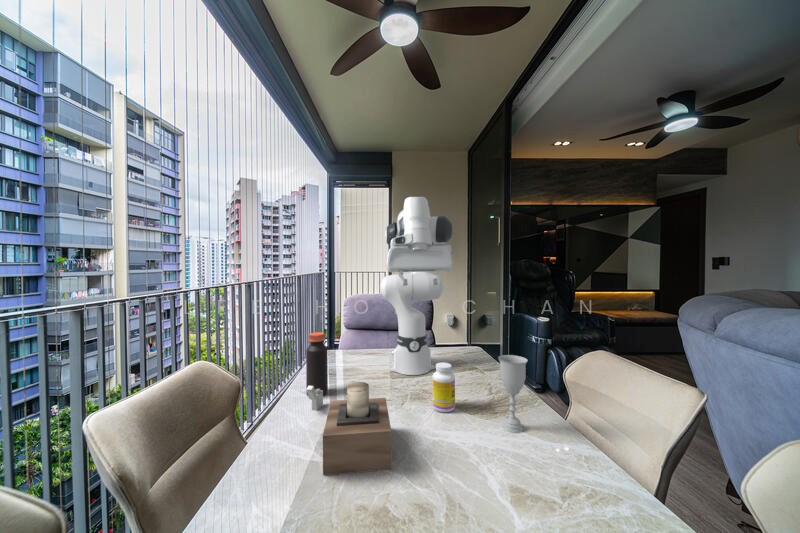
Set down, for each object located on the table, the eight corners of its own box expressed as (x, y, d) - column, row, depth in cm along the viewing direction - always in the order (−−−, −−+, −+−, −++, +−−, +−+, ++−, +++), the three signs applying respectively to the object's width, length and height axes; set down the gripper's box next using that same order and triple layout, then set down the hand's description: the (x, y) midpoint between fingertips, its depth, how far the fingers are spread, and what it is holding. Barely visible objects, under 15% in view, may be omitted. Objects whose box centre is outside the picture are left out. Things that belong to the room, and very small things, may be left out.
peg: (347, 415, 73) (347, 382, 72) (368, 414, 73) (368, 381, 73) (346, 426, 68) (346, 391, 68) (369, 425, 68) (368, 389, 68)
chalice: (497, 431, 77) (497, 361, 77) (498, 418, 84) (498, 353, 84) (528, 437, 75) (528, 364, 75) (527, 423, 81) (527, 356, 81)
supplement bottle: (454, 414, 86) (454, 369, 86) (431, 412, 88) (431, 368, 88) (455, 403, 93) (455, 362, 93) (433, 402, 94) (433, 360, 94)
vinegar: (326, 388, 105) (326, 330, 105) (328, 396, 98) (328, 335, 98) (306, 391, 103) (305, 332, 102) (306, 399, 96) (306, 336, 96)
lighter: (318, 403, 93) (317, 378, 93) (323, 404, 93) (323, 378, 93) (306, 415, 86) (306, 387, 86) (311, 415, 86) (311, 387, 86)
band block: (331, 432, 77) (330, 398, 77) (385, 428, 79) (385, 395, 79) (322, 475, 62) (322, 432, 62) (391, 469, 63) (391, 428, 63)
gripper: (448, 245, 99) (452, 286, 95) (386, 246, 98) (387, 288, 94) (452, 238, 93) (456, 281, 89) (386, 239, 92) (387, 283, 88)
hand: (420, 285), depth 92 cm, fingers open, 8 cm apart
